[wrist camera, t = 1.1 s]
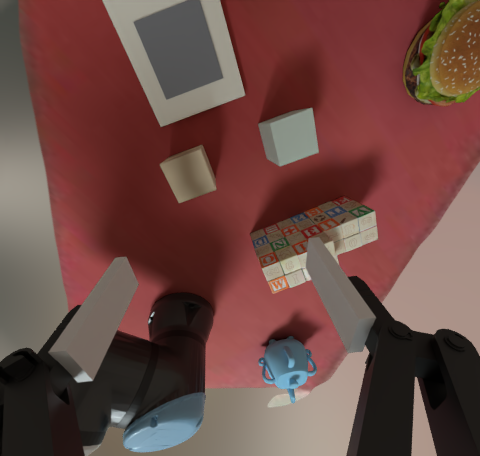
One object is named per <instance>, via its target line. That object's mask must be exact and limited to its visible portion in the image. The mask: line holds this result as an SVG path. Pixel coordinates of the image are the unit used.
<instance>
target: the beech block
mask: <svg viewBox="0 0 480 456" xmlns="http://www.w3.org/2000/svg"><path fill="white" fill-rule="evenodd" d="M160 167H161V169H162V171H163V173H164V175H165V177H166V179H167V181H168V183H169V185H170V187H171V189H172V191H173V193H174V195H175V197H176V199H177V201H178V203H181V202H184V201H187V200H190V199H192V198H195V197H198V196H201V195H203V194H206V193H209V192H212V191H214V190H216V180H215V176H214V173H213V170H212V168H211V165H210V163H209V160H208V158H207V155H206V152H205V150H204V147H203V145H200V146H197V147H194V148H192V149H189V150H186V151H183V152H181V153H178V154H175V155H173V156H170V157H169V158H167V159H166V160H165V161H163V162H162V163H161V164H160Z"/></svg>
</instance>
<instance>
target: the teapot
mask: <svg viewBox="0 0 480 456" xmlns="http://www.w3.org/2000/svg"><path fill="white" fill-rule="evenodd" d="M307 353H308V354H309V355H308V354H307ZM311 356H312V353H311V351H310V350H308V349H306V350H305V348H304V346H303V344H302V343H301V342H299V341H298V340H296V339H294V337H293V336H289V337H287V339H283V340H279V341H276V340H275V339H272V340H270V341H269V345H268V346H267V348H266V350H265V354H264V358H260V359H259V361H258V363H259V365H260V366H263V371H262V376H263V380H264V381H265V382H266V383H268V384H273V383H275V384H276V385H277V387H278V388H281V389H287V390H288V393H289V395H290V399H291V402H292V403H295V395H294V389H295V388H297V387H298V386H300V385H303V384H304V383H305V382H306V380H307V376H313V375H314V374H315V373H316V371H317V367H316V365H315V363H314V362H313V360H312V359H311V358H310V357H311ZM307 360H308V361H309V362H310V363H311V365H312V366H313V368H314V370H313V371H308V361H307ZM261 362H263V363H261ZM266 369H267V371H268V373H269V375H270V377H271V379H267V378H266V376H265V370H266Z"/></svg>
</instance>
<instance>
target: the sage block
mask: <svg viewBox="0 0 480 456" xmlns="http://www.w3.org/2000/svg"><path fill="white" fill-rule="evenodd" d="M258 126H259V130H260V134H261V138H262V141H263V145H264V149H265V153H266V157H267V159H268V160H270V161H272V162H273V163H275V164H277V165H278V166H283V165H286V164H288V163H291V162H294V161H296V160H299V159H302V158H305V157H307V156H310V155H313V154H316V153H318V152H319V151H318V144H317V137H316V130H315V123H314V116H313V109H312V108H307V109H301V110H296V111H291V112H288V113H285V114H283V115H280V116H277V117H275V118H272V119H269V120H267V121H264V122H261V123H259V124H258Z"/></svg>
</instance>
